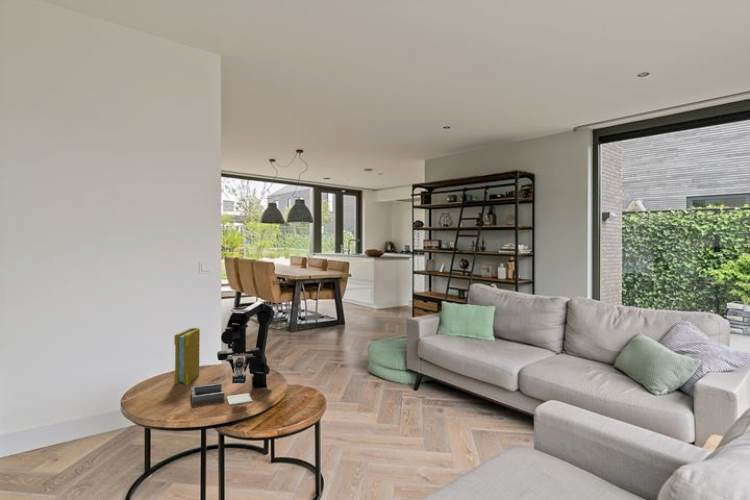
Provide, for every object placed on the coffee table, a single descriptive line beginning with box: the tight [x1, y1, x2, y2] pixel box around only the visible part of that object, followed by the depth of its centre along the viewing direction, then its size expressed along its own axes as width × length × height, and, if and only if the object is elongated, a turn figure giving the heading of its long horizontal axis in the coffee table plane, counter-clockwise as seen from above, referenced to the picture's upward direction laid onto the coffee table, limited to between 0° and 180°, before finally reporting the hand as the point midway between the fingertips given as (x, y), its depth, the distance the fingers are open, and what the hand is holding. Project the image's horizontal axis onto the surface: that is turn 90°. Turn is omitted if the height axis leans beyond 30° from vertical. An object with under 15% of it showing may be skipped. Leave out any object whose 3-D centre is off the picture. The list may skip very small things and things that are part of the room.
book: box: [173, 327, 201, 385], centre depth 215 cm, size 17×7×25 cm, turn 179°
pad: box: [226, 392, 253, 406], centre depth 188 cm, size 10×10×1 cm
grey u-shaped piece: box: [190, 382, 225, 406], centre depth 191 cm, size 13×13×4 cm
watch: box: [231, 357, 247, 384], centre depth 188 cm, size 6×8×11 cm
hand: (239, 372), depth 188 cm, fingers closed on watch, 5 cm apart
